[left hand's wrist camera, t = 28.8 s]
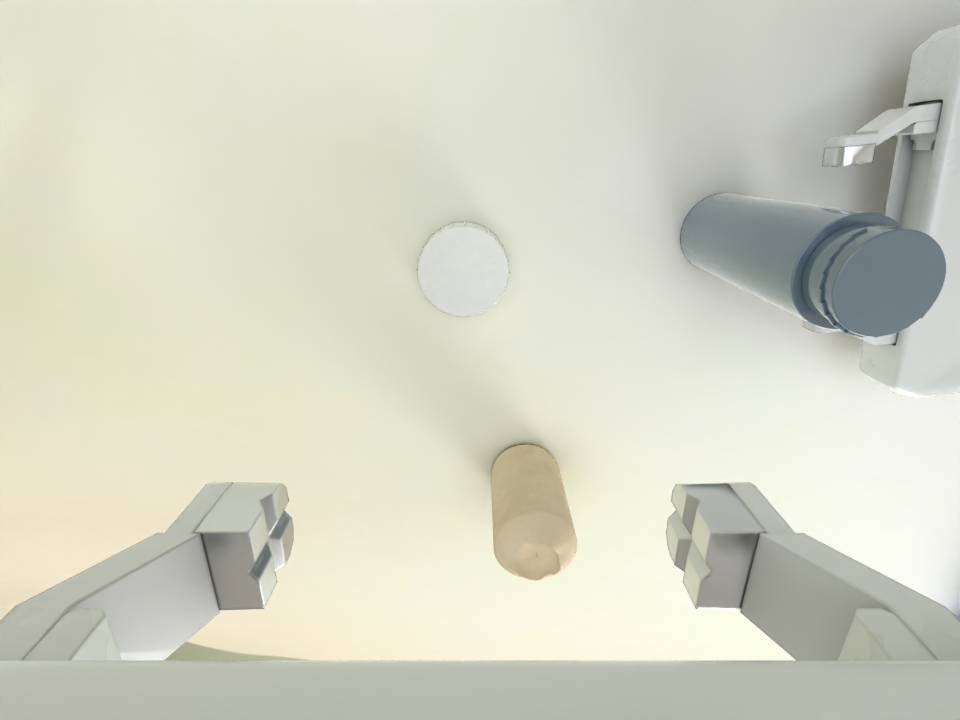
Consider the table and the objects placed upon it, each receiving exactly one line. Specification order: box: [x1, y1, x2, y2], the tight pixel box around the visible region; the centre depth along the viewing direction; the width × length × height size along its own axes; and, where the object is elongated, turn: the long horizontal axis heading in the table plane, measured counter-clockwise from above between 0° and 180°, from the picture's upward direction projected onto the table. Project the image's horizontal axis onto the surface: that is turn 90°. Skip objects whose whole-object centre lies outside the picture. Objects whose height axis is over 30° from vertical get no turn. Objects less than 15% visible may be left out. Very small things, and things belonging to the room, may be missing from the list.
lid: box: [417, 221, 510, 317], centre depth 34 cm, size 6×6×2 cm
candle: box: [491, 444, 577, 580], centre depth 37 cm, size 6×6×10 cm
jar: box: [680, 193, 946, 338], centre depth 27 cm, size 5×5×16 cm
